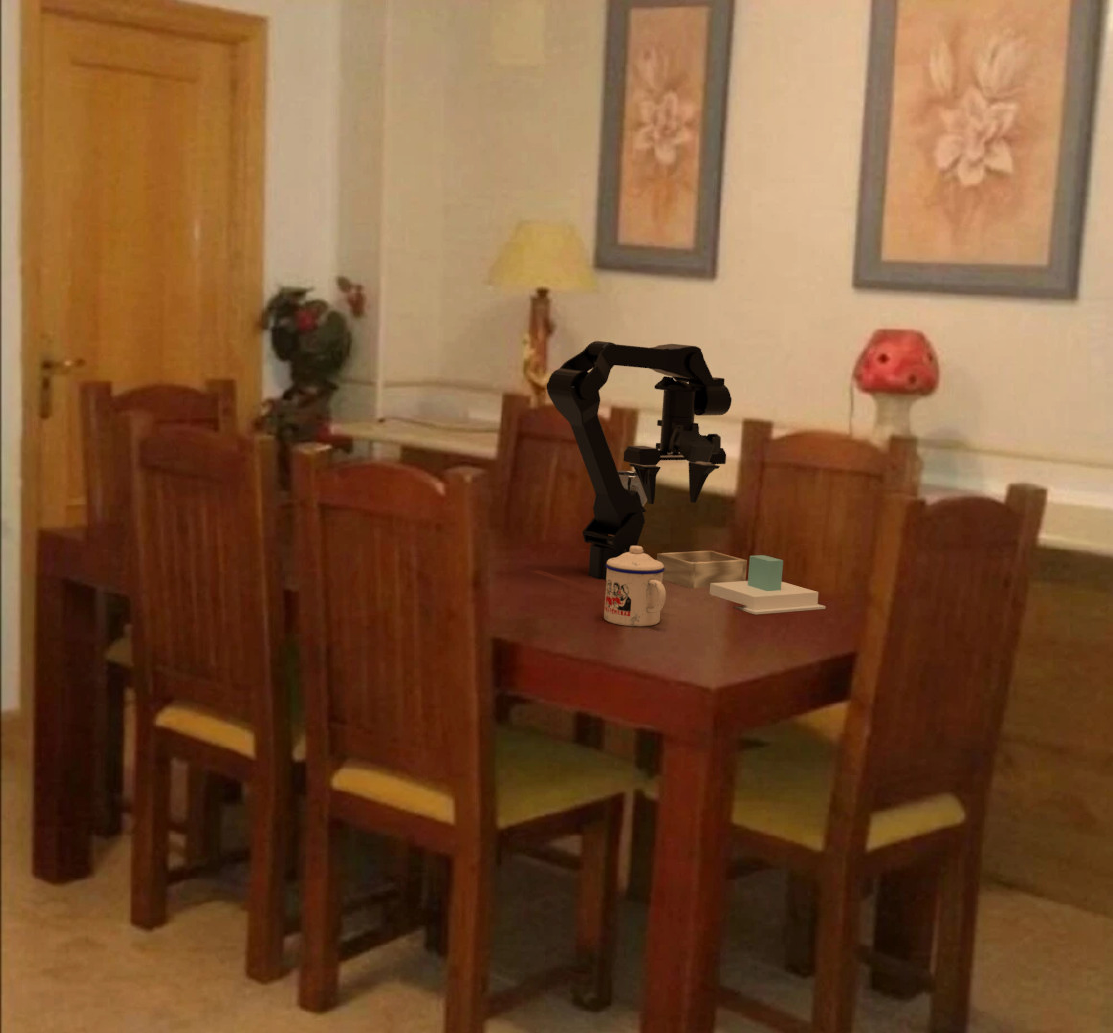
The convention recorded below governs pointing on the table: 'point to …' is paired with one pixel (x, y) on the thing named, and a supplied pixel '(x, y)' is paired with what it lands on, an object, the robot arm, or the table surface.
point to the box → (701, 568)
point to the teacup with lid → (634, 589)
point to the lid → (764, 587)
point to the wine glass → (632, 484)
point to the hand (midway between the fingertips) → (672, 503)
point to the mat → (782, 609)
